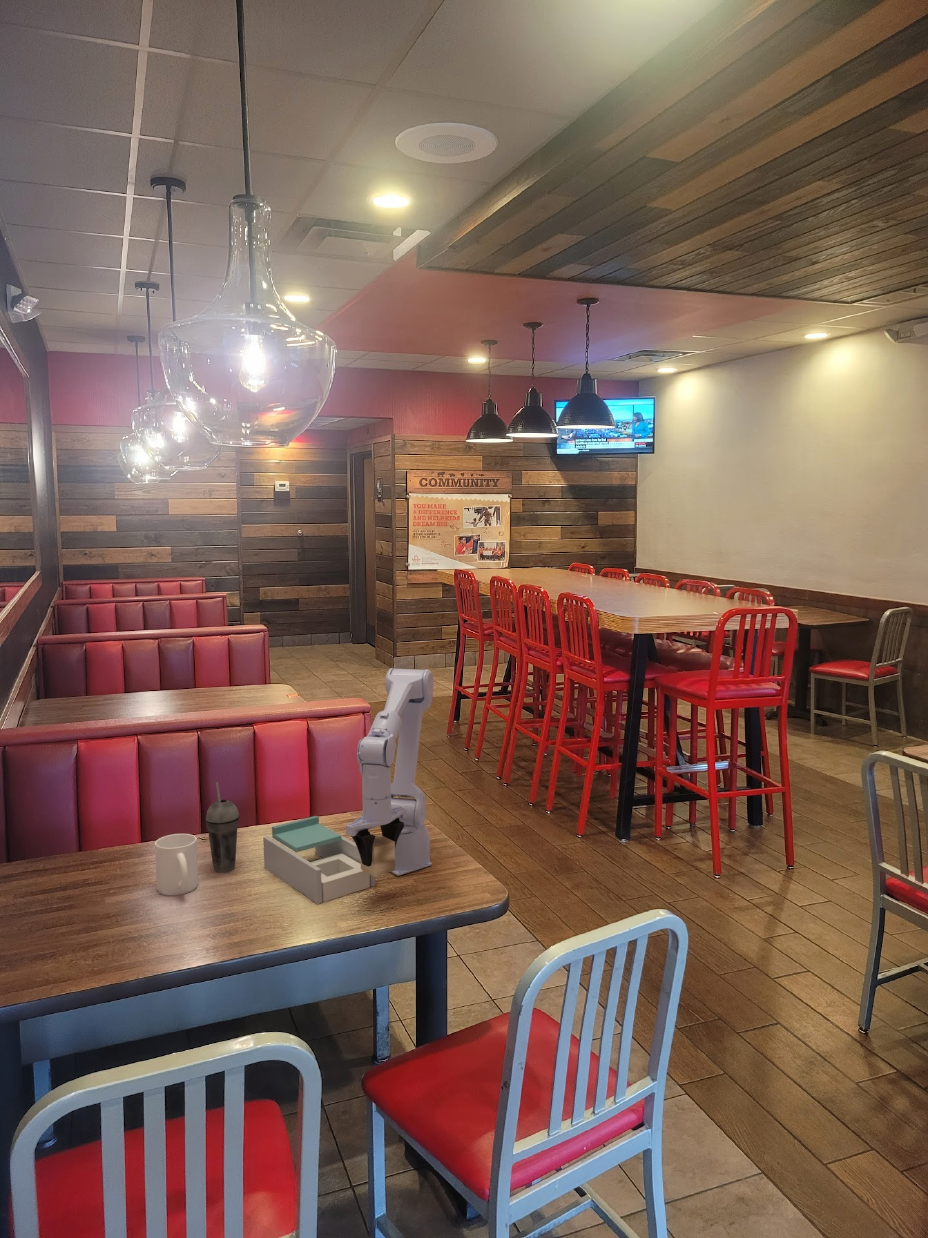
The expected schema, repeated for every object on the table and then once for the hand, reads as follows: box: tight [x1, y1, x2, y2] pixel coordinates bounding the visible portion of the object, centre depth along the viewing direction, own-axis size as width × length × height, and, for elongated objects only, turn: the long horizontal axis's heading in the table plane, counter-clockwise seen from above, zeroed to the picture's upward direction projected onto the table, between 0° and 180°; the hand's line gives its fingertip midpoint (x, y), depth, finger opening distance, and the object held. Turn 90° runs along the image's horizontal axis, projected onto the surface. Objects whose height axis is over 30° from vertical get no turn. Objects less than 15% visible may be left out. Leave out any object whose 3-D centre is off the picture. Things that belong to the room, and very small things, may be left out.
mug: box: [154, 833, 199, 897], centre depth 179 cm, size 12×8×10 cm
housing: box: [263, 825, 376, 905], centre depth 186 cm, size 14×24×7 cm, turn 39°
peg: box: [361, 834, 395, 878], centre depth 175 cm, size 5×5×6 cm
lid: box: [271, 815, 343, 853], centre depth 189 cm, size 11×11×2 cm
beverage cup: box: [204, 781, 240, 874], centre depth 189 cm, size 7×7×20 cm
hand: (377, 860), depth 175 cm, fingers closed on peg, 5 cm apart
